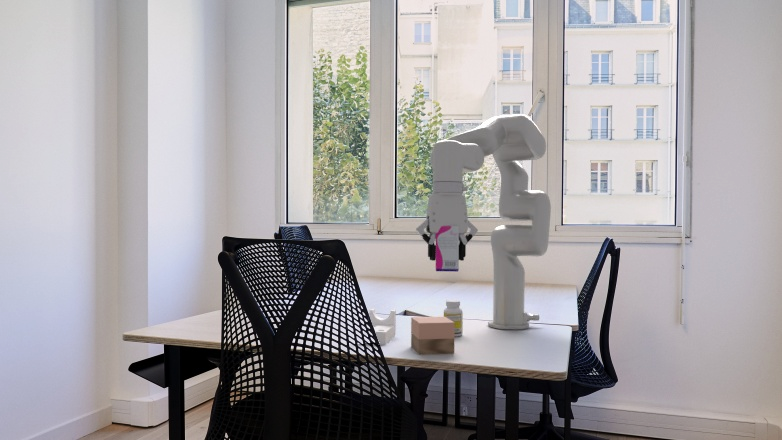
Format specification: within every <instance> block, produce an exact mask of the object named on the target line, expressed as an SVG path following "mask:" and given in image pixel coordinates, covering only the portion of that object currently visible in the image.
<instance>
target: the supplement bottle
mask: <svg viewBox="0 0 782 440" xmlns="http://www.w3.org/2000/svg"><path fill="white" fill-rule="evenodd" d="M445 306H446V307H445V308H444V309H443V317H446V318H448V319H450V320H451V321H453V322H455V335H454V337H460V336H463V328H464V326H463V322H464V321H463V315H464V314H463V308H461V300H458V299H449V300H446V301H445Z"/></svg>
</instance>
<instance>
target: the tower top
mask: <svg viewBox="0 0 782 440" xmlns="http://www.w3.org/2000/svg"><path fill="white" fill-rule="evenodd" d="M410 320H411V321H410V324H411V325H410V326H411V327H410V329H411V330H410V334H411V333H412V334H413V335H414V336H416V337H417V338H418V339H454V340H455V336H454V335H455V322H453V321H451V320H450V319H448V318H446V317H444V316H417V317H415V316H412V317H411V318H410Z"/></svg>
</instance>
